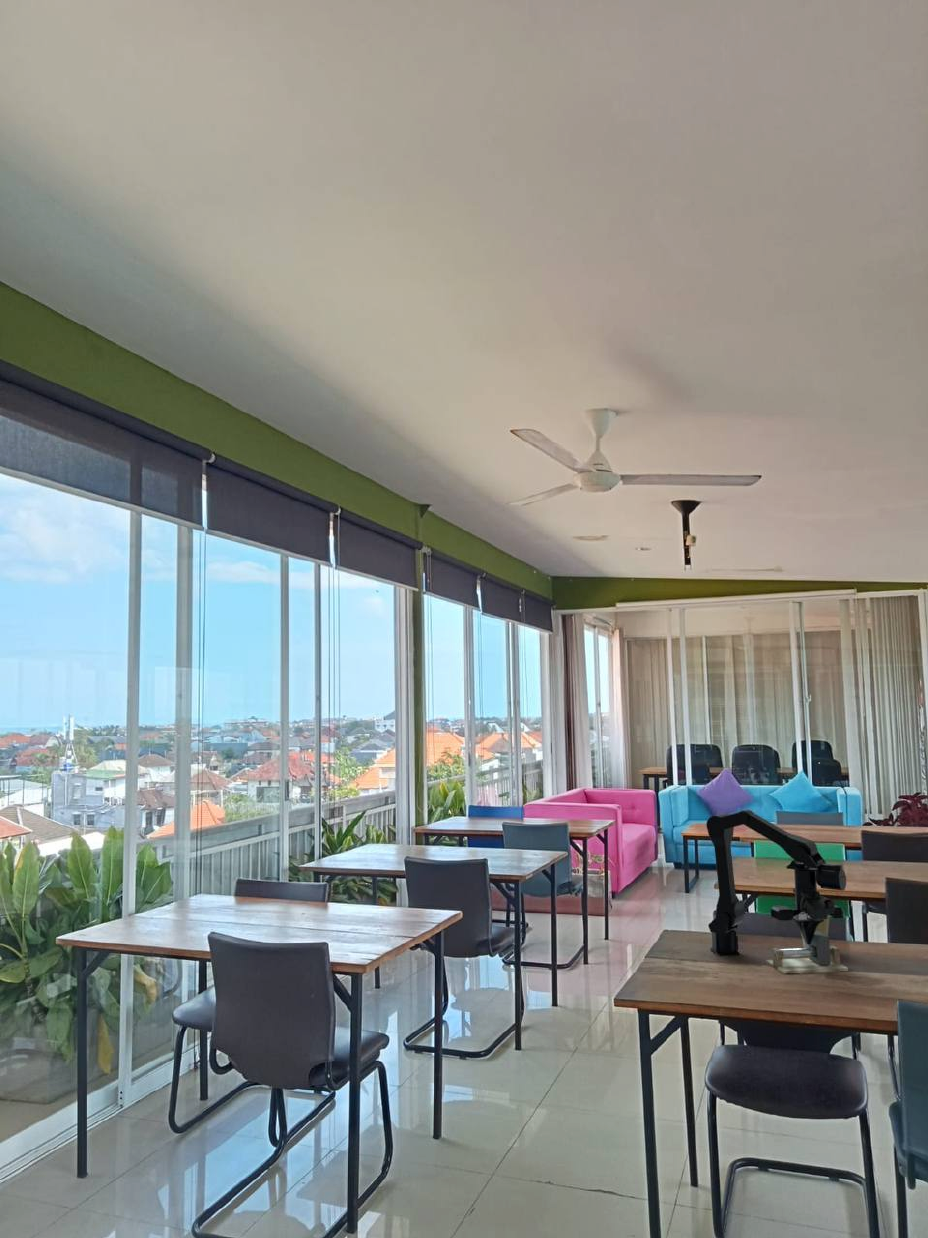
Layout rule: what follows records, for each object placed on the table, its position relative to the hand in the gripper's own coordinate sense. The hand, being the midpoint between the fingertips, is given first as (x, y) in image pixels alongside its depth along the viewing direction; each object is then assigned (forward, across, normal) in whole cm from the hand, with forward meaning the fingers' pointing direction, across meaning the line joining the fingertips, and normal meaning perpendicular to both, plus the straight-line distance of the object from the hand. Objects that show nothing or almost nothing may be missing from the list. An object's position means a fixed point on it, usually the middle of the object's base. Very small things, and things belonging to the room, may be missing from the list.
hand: (808, 944), depth 253 cm
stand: (+6, -1, 0) cm, 6 cm away
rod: (+3, -1, 0) cm, 3 cm away
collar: (+5, +3, 0) cm, 6 cm away
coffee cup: (+6, +10, +16) cm, 20 cm away
